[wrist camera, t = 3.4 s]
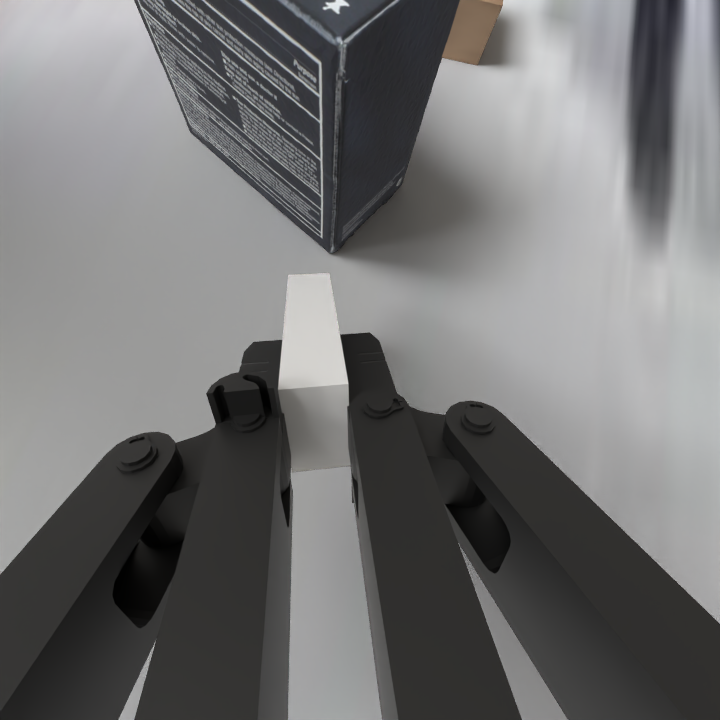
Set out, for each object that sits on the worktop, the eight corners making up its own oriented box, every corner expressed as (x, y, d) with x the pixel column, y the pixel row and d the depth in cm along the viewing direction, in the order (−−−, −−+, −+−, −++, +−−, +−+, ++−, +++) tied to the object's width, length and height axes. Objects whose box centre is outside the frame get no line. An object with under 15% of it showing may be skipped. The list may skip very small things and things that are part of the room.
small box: (409, 181, 20) (501, -79, 10) (332, 259, 19) (341, 56, 8) (271, 64, 20) (215, -304, 10) (185, 132, 19) (22, -209, 9)
